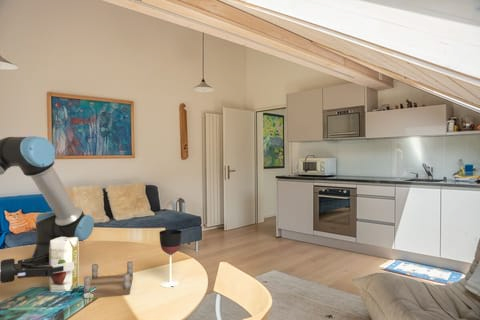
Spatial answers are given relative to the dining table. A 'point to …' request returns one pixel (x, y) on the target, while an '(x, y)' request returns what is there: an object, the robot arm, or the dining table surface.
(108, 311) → the dining table surface
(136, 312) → the dining table surface
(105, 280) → the peg plinth
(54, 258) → the juice carton
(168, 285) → the wineglass
